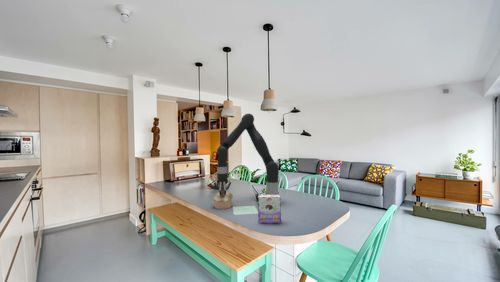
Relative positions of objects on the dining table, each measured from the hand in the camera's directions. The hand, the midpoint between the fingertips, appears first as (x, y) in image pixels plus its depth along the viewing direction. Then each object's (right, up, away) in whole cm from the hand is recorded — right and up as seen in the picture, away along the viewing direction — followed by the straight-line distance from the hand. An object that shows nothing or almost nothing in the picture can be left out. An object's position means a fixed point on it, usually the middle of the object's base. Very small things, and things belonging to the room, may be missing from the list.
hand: (222, 195), depth 163 cm
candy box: (+33, -9, -30) cm, 46 cm away
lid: (0, -2, 0) cm, 2 cm away
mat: (+17, -9, -9) cm, 21 cm away
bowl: (0, -9, 0) cm, 9 cm away
